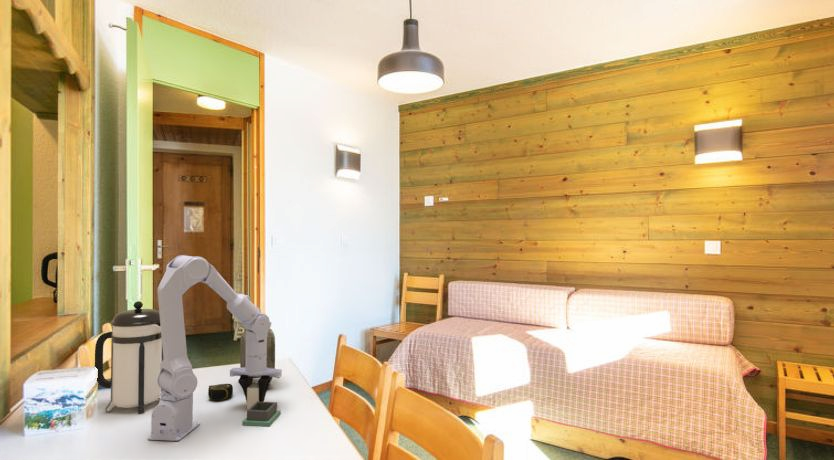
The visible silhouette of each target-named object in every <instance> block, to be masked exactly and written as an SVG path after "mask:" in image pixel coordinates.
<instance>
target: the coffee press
mask: <svg viewBox="0 0 834 460" xmlns="http://www.w3.org/2000/svg"><path fill="white" fill-rule="evenodd" d="M143 305H144V304H143V302H142V301H140V300H139V301H135V302H134V304H133V309H128V310H124V311H120V312H119V313H117V314H116V315H115V316H114V317H113V319H112V320H111V322H110V326H111V327H112V331H108V332H104V333H101V334H100V336H98V338H97V340H96V342H95V345H94V347H95V348H94V368H95V367H96V368H97V369H98V378H97V380H96V382H97V384H99V386H101V387H102V388H105V389H110V400H109V402H108V403H107V405H106V406H105V408H104V409H105V412H106V413H111V412H112V411H113V410H114V409H117V408H124V409H125V408H128V409H130V408H137V413H138V415H141V414H145V412H146V410H145V406H146V405H149V404H152V403H153V402H155V401H157V400H159V401H160V398H161V392H162V389H161V388H160V387H159V385H158V383H157V378H158V375H159V373H160V363H161V362H162V361H163V347H162V336H161V325H160V314H159V310H157V309H151V308H143ZM108 339H111V347H110V349H111V351H110V353H111V354H110V355H111V356H110V359H111V360H110V361H111V362H110V380H107V379H106V378H105V376H104V345H105V342H106V341H107V340H108ZM111 404H113V406H112V407H111V408H110V409H109V410H108V408H109V407H110V406H111Z"/></svg>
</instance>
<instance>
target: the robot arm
mask: <svg viewBox="0 0 834 460" xmlns="http://www.w3.org/2000/svg"><path fill="white" fill-rule="evenodd" d="M198 283H203V284H205V285H207V286H208V287H209V288H210V289H212V290H213V291H214V292H215V293H216V294H217V295H219V297H220V298H222V299H223V300H224V301H225V302H226V309H227V311H229V313H231V314H232V315H233V316H234V318H236V320H238V322H240V323H241V327H242V329H244V330H245V331H246V330H247V331H246V357H245V367H243V368H240V367H233V368H230V369H229V377H231V378H232V377H239V379H237V380H238V384H239V385H240V387H241V389H242V391H243V394H244V397H245V402H246V403H247V388H248V387H249V386H250V385H252V384H253V383H254V378H253V377H254V376H256V377H261V378H258V380H257V383H258V385H259V402H263V401H264V402H265V401H266V400H265V399H266V396H267V395H266V394H267V391H268V390H269V389H268V386H269V384H270V385H271V381H272V380H273V378H276V379H280V378H281V377H282V375H283V374H282V371H283V370H282V369H281V368H275V369H274V368H268V367H266V357H267V333H268V330H269V329H271V328H272V327H271V326H272V322H271V321H270V317H269V316H268V315H267V314H265V313H262V312H261V313H260V311H261V308H260V307H257V306H256V305H255V304H254V303H253V302H252V301H251V297H250V296H249V295H247V294H244V293H237V292H236V291H235V290H234V289H233V288H232V286H231V285H229V283H228V282H227V281H226V280H225V278H224V277H223V276H222V275H221V274H220V272H218V270H217V268H215V266H213V265H212V264H211V263H209V262H208V260H207V259H205V258H204V257H203V256H198V255H197V256H191V255H187V254H182V255H181V254H179V255H178V256H175V258H173V259H172V260H171V261H169V262H168V264H166V269H165V272H164V275H163V277H162V279H161V281H160V283H159V285H158V286H157V293H156V294H157V302H158V311H159V314H160V325H161V336H162V347H163V357H162V362H161V363H160V373H159V375H158V378H157V383H158V385H159V387H160V388H161V389H162V392H161V395H160V397H159V398H160V400H159V401H158V402H159V403H158V404H157V405H156V406H155V407H154V409H153V410H152V413H151V419H150V420H151V421H150V423H151V425H150V426H151V427H150V431H151V432H150V434H151V435H149V436H148V437H147V440H149V441H151V440H152V441H173V442H179V441H181V440H182V439H183V438H184V437H185V436H188V434H190V433H191V432H193V430H195V429H196V428H197V427H199V426H200V425H201V422H195V421H193V416H194V415H193V414H194V413H193V410H194V409H193V407H194V405H193V404H194V395H193V394H194V392H195V391H196V389H197V387H198V377H197V376H196V374H195V373H194V371H193V366H192V363H191V361H190V360H189V357H188V347H187V338H186V327H185V316H184V314H185V313H184V305H183V295H184V294H185V293H186V292H187V291H188V290H189V288H191V287H192V286H195V285H196V284H198Z"/></svg>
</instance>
